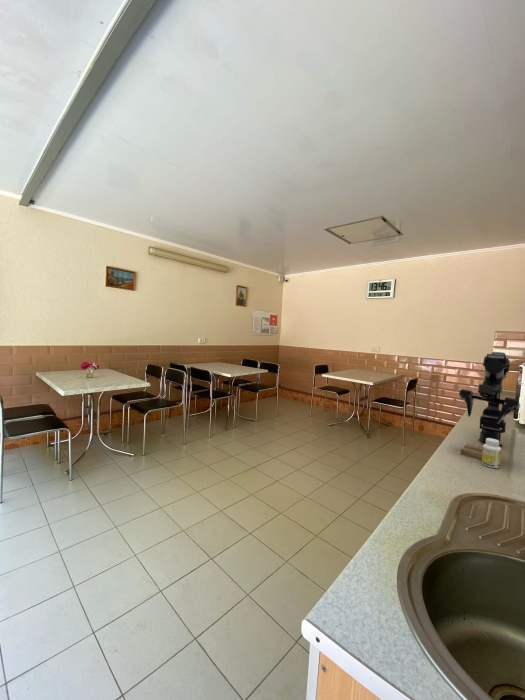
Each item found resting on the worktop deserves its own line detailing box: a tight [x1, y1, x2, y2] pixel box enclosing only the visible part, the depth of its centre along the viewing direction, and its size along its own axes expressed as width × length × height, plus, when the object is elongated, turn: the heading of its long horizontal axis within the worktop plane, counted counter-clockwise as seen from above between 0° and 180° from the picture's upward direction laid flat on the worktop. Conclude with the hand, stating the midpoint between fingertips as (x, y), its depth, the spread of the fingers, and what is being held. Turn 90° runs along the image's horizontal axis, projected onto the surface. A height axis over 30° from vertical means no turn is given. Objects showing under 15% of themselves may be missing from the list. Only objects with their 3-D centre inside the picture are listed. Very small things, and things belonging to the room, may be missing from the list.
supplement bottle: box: [481, 438, 502, 469], centre depth 112 cm, size 5×5×10 cm
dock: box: [460, 442, 483, 461], centre depth 122 cm, size 10×8×2 cm
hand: (482, 419), depth 115 cm, fingers open, 9 cm apart
